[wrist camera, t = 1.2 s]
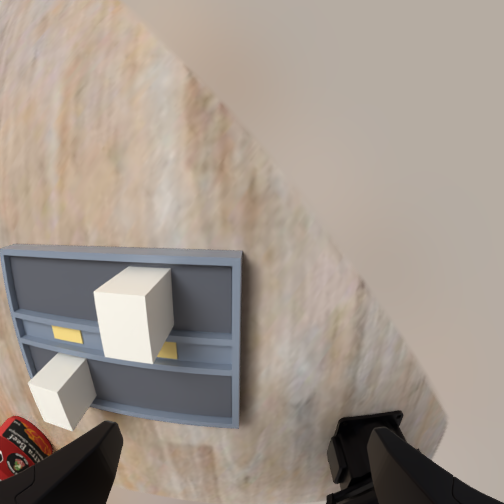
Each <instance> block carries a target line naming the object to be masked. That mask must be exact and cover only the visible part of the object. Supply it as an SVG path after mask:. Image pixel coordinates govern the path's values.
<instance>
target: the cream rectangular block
mask: <svg viewBox="0 0 504 504" xmlns="http://www.w3.org/2000/svg"><path fill="white" fill-rule="evenodd" d="M94 299H95V306H96V312H97V318H98V324H99V330H100V335H101V340H102V345H103V350H104V355H105V357H108V358H114V359H121V360H127V361H134V362H141V363H149V364H153V363H154V361H155V359H156V357H157V356H158V354H159V352H160V350H161V348H162V346H163V344H164V343H165V341H166V339H167V337H168V335H169V333H170V332H171V330H172V328H173V326H174V314H173V298H172V280H171V268H152V267H131V266H128V267H127V268H126V269H124V270H123V271H121V272H120V273H119V274H117V275H116V276H114V277H113V278H112V279H110V280H109V281H107V282H106V283H105V284H103V285H102V286H100V287H99V288H98V289H96V290H95V291H94Z"/></svg>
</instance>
